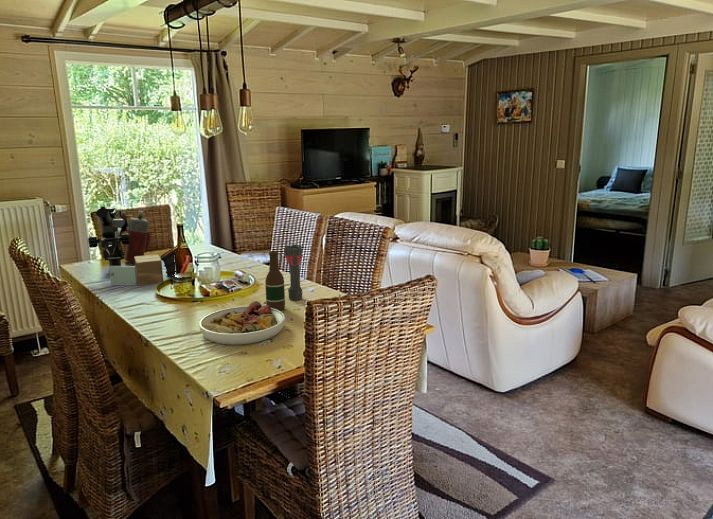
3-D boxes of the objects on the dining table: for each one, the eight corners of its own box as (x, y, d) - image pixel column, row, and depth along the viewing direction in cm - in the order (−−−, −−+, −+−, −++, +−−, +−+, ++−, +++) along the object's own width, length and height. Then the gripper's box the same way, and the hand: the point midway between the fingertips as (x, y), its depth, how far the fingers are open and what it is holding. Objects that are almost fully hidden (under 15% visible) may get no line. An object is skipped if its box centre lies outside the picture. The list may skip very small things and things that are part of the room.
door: (109, 285, 254) (107, 266, 252) (112, 284, 256) (109, 265, 254) (136, 286, 253) (134, 266, 251) (138, 284, 255) (136, 265, 253)
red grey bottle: (147, 263, 301) (154, 213, 298) (125, 260, 295) (133, 210, 292) (145, 260, 309) (152, 211, 305) (124, 257, 303) (131, 208, 300)
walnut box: (136, 278, 268) (134, 256, 265) (159, 275, 272) (157, 254, 270) (139, 285, 255) (136, 262, 252) (163, 282, 259) (161, 260, 257)
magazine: (195, 269, 277) (181, 245, 270) (174, 284, 271) (158, 260, 264) (192, 267, 280) (178, 244, 273) (171, 282, 274) (155, 258, 267)
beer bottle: (289, 307, 220) (286, 250, 214) (280, 313, 213) (277, 254, 207) (272, 305, 222) (269, 248, 217) (262, 311, 215) (259, 253, 210)
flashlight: (293, 294, 237) (291, 243, 232) (307, 297, 234) (305, 245, 228) (282, 299, 231) (279, 246, 226) (297, 301, 227) (294, 248, 222)
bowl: (269, 350, 177) (268, 328, 175) (184, 345, 182) (182, 323, 181) (295, 320, 206) (294, 300, 204) (221, 316, 211) (220, 297, 209)
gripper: (85, 220, 259) (88, 247, 252) (127, 217, 267) (131, 243, 260) (87, 234, 268) (90, 260, 261) (128, 230, 276) (132, 256, 269)
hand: (111, 254), depth 263 cm, fingers closed
